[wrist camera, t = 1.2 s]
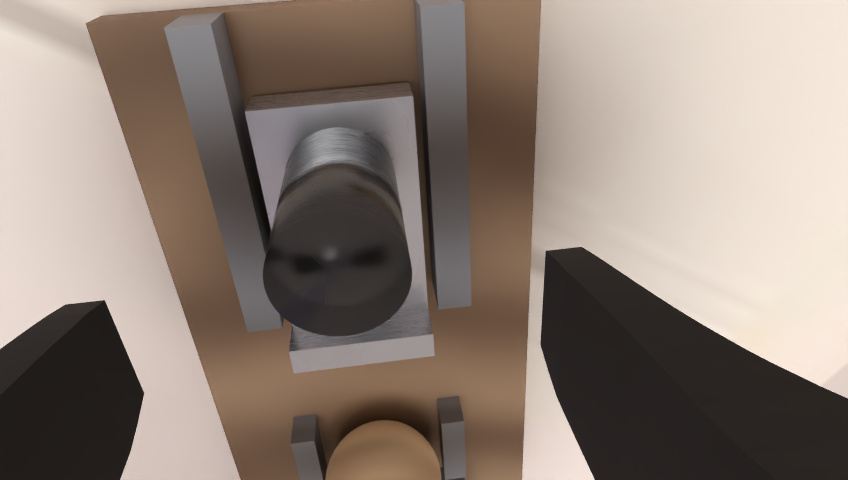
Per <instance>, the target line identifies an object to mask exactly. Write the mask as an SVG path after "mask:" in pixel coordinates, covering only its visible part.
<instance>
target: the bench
mask: <svg viewBox="0 0 848 480" xmlns="http://www.w3.org/2000/svg"><path fill="white" fill-rule="evenodd" d="M540 8H541V0H294V1H281V2H269V3H257V4H244V5H232V6H220V7H208V8H195V9H183V10H171V11H158V12H146V13H134V14H121V15H109V16H100V17H98V18H96V19H94V20H92V21H90V22H88V23H86V25H87V28H88V31H89V34H90V37H91V40H92V43H93V46H94V49H95V52H96V55H97V58H98V61H99V64H100V67H101V70H102V73H103V75H104V78H105V81H106V84H107V87H108V90H109V93H110V96H111V99H112V102H113V105H114V108H115V111H116V114H117V117H118V120H119V123H120V125H121V128H122V131H123V134H124V137H125V140H126V143H127V146H128V149H129V152H130V155H131V158H132V161H133V164H134V167H135V170H136V173H137V175H138V178H139V181H140V184H141V187H142V190H143V193H144V196H145V199H146V202H147V205H148V208H149V211H150V214H151V217H152V220H153V223H154V225H155V228H156V231H157V234H158V237H159V240H160V243H161V246H162V249H163V252H164V255H165V258H166V261H167V264H168V267H169V270H170V272H171V275H172V278H173V281H174V284H175V287H176V290H177V293H178V296H179V299H180V302H181V305H182V308H183V311H184V314H185V317H186V320H187V322H188V325H189V328H190V331H191V334H192V337H193V340H194V343H195V346H196V349H197V352H198V355H199V358H200V361H201V364H202V367H203V370H204V372H205V375H206V378H207V381H208V384H209V387H210V390H211V393H212V396H213V399H214V402H215V405H216V408H217V411H218V414H219V417H220V420H221V422H222V425H223V428H224V431H225V434H226V437H227V440H228V443H229V446H230V449H231V452H232V455H233V458H234V461H235V464H236V467H237V470H238V472H239V475H240V478H241V480H325V479H326V471H327V467H328V464H329V460H330V458H331V456H332V454H333V452H334V450H335V449H336V447H337V446H338V444H339V443H340V442H341V440H342V439H343V438H344V437H345V436H346V435H347V434H349V433H350V432H351V431H353V430H354V429H356V428H357V427H359V426H361V425H363V424H366V423H369V422H372V421H378V420H392V421H397V422H401V423H404V424H406V425H408V426H410V427H412V428H414V429H415V430H417V431H418V432H419V433H420V434H422V435H423V436H424V438H425V439H426V440H427V441H428V442H429V443H430V445H431V447H432V448H433V450H434V452H435V454H436V456H437V459H438V461H439V465H440V470H441V480H522V464H523V438H524V413H525V388H526V362H527V337H528V312H529V286H530V261H531V236H532V211H533V185H534V160H535V135H536V109H537V84H538V59H539V33H540ZM406 82H409V85H410V88H411V91H412V94H413V101H414V115H415V129H416V143H417V158H418V172H419V186H420V200H421V214H422V228H423V242H424V257H425V271H426V285H427V299H428V310H429V315H430V320H431V325H432V330H433V337H434V352H435V356H430V357H422V358H414V359H406V360H398V361H390V362H382V363H374V364H366V365H358V366H349V367H341V368H333V369H325V370H317V371H309V372H301V373H294V372H293V368H292V364H291V359H290V355H289V346H290V338H291V330H292V323H290V322H289V321H287V320H286V319H285V318H284V317H282V316H281V315H280V314H279V313H278V312H277V311H276V309H275V308H274V307H273V305H272V304H271V302H270V300H269V299H268V297H267V294H266V291H265V288H264V283H263V266H264V261H265V256H266V252H267V248H268V243H269V239H270V234H271V227H270V223H269V218H268V214H267V209H266V205H265V200H264V196H263V191H262V187H261V182H260V178H259V174H258V169H257V165H256V160H255V156H254V151H253V147H252V142H251V138H250V133H249V129H248V124H247V120H246V115H245V110H246V108H247V106H248V104H249V101H250V99H251V97H254V96H265V95H276V94H287V93H297V92H308V91H319V90H330V89H341V88H352V87H363V86H374V85H385V84H395V83H406Z"/></svg>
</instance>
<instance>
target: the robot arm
mask: <svg viewBox="0 0 848 480" xmlns="http://www.w3.org/2000/svg"><path fill="white" fill-rule="evenodd" d="M541 348H542V351H543V354H544V358H545V361H546V364H547V368H548V371H549V374H550V377H551V380H552V383H553V386H554V390H555V393H556V396H557V398H558V400H559V403H560V405H561V407H562V409H563V412H564V414H565V416H566V418H567V420H568V422H569V425H570V427H571V429H572V431H573V433H574V436H575V438H576V440H577V442H578V444H579V446H580V449H581V451H582V453H583V455H584V457H585V459H586V461H587V464H588V466H589V468H590V470H591V472H592V474H593V477H594V479H595V480H848V399H847V398H845V397H843V396H841V395H838V394H836V393H834V392H832V391H829V390H827V389H825V388H823V387H820V386H818V385H816V384H814V383H812V382H810V381H808V380H806V379H804V378H802V377H800V376H798V375H796V374H794V373H791V372H789V371H787V370H785V369H783V368H781V367H779V366H777V365H775V364H773V363H771V362H769V361H767V360H765V359H763V358H761V357H759V356H757V355H755V354H754V353H752V352H750V351H748V350H746V349H744V348H742V347H741V346H739V345H737V344H735V343H734V342H732V341H730V340H728V339H726V338H725V337H723V336H721V335H719V334H718V333H716V332H714V331H712V330H711V329H709V328H707V327H705V326H704V325H702V324H700V323H699V322H697V321H695V320H694V319H692V318H690V317H689V316H687V315H686V314H684V313H682V312H681V311H679V310H677V309H676V308H674V307H673V306H671V305H670V304H668V303H666V302H665V301H663V300H662V299H660V298H659V297H657V296H656V295H654V294H652V293H651V292H649V291H648V290H646V289H645V288H643V287H642V286H640V285H639V284H637V283H636V282H634V281H633V280H631V279H630V278H628V277H627V276H625V275H624V274H622V273H621V272H619V271H618V270H616V269H615V268H613V267H612V266H610V265H609V264H607V263H606V262H605V261H603V260H601V259H600V258H598V257H597V256H595V255H594V254H592V253H591V252H589V251H587V250H586V249H584V248H582V247H577V248H568V249H559V250H550V251H546V257H545V275H544V293H543V311H542V329H541ZM143 396H144V392H143V390H142V387H141V385H140V383H139V380H138V378H137V376H136V373H135V371H134V368H133V366H132V364H131V361H130V359H129V357H128V354H127V352H126V350H125V347H124V345H123V343H122V340H121V338H120V335H119V333H118V331H117V328H116V326H115V324H114V321H113V319H112V317H111V314H110V312H109V310H108V307H107V305H106V302H105V300H103V301H94V302H85V303H76V304H68V305H64V306H63V307H61V308H59V309H58V310H56V311H54V312H53V313H51V314H50V315H48V316H46V317H45V318H43V319H42V320H41V321H39V322H38V323H36V324H35V325H33V326H32V327H30V328H29V329H28V330H26V331H25V332H23V333H22V334H21V335H19V336H18V337H16V338H15V339H14V340H12V341H11V342H10V343H8V344H7V345H5V346H4V347H3V348H1V349H0V480H120V478H121V475H122V473H123V470H124V467H125V465H126V462H127V459H128V457H129V454H130V451H131V447H132V443H133V439H134V435H135V432H136V428H137V424H138V419H139V414H140V410H141V405H142V400H143Z"/></svg>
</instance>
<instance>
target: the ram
mask: <svg viewBox="0 0 848 480" xmlns="http://www.w3.org/2000/svg"><path fill="white" fill-rule="evenodd" d="M245 115H246V120H247V124H248V129H249V133H250V138H251V142H252V147H253V151H254V156H255V160H256V165H257V169H258V174H259V178H260V182H261V187H262V191H263V196H264V200H265V205H266V209H267V214H268V218H269V223H270V227H271V234H270V239H269V243H268V248H267V252H266V256H265V261H264V266H263V283H264V288H265V291H266V294H267V297H268V299H269V300H270V302H271V304H272V305H273V307H274V308H275V309H276V311H277V312H278V313H279V314H280V315H281V316H282V317H284V318H285V319H286V320H287V321H289V322H290V323H292V330H291V338H290V346H289V355H290V359H291V364H292V368H293V372H294V373H301V372H309V371H317V370H325V369H333V368H341V367H349V366H358V365H366V364H374V363H382V362H390V361H398V360H406V359H414V358H422V357H430V356H435V352H434V337H433V330H432V325H431V320H430V315H429V310H428V299H427V285H426V271H425V257H424V242H423V228H422V214H421V200H420V186H419V172H418V158H417V143H416V129H415V115H414V101H413V94H412V91H411V88H410V85H409V82H406V83H395V84H385V85H374V86H363V87H352V88H341V89H330V90H319V91H308V92H297V93H287V94H276V95H265V96H254V97H251V99H250V101H249V104H248V106H247V108H246V110H245Z"/></svg>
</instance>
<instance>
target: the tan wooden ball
mask: <svg viewBox="0 0 848 480" xmlns="http://www.w3.org/2000/svg"><path fill="white" fill-rule="evenodd" d="M325 480H441V470H440V465H439V461H438V459H437V456H436V454H435V452H434V450H433V448H432V447H431V445H430V443H429V442H428V441H427V440H426V439H425V438H424V436H423V435H422V434H420V433H419V432H418V431H417V430H415V429H414V428H412V427H410V426H408V425H406V424H404V423H401V422H397V421H392V420H378V421H372V422H369V423H366V424H363V425H361V426H359V427H357V428H356V429H354V430H353V431H351V432H350V433H349V434H347V435H346V436H345V437H344V438H343V439H342V440H341V442H340V443H339V444H338V446H337V447H336V449H335V450H334V452H333V454H332V456H331V458H330V460H329V464H328V467H327V471H326V479H325Z"/></svg>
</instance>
